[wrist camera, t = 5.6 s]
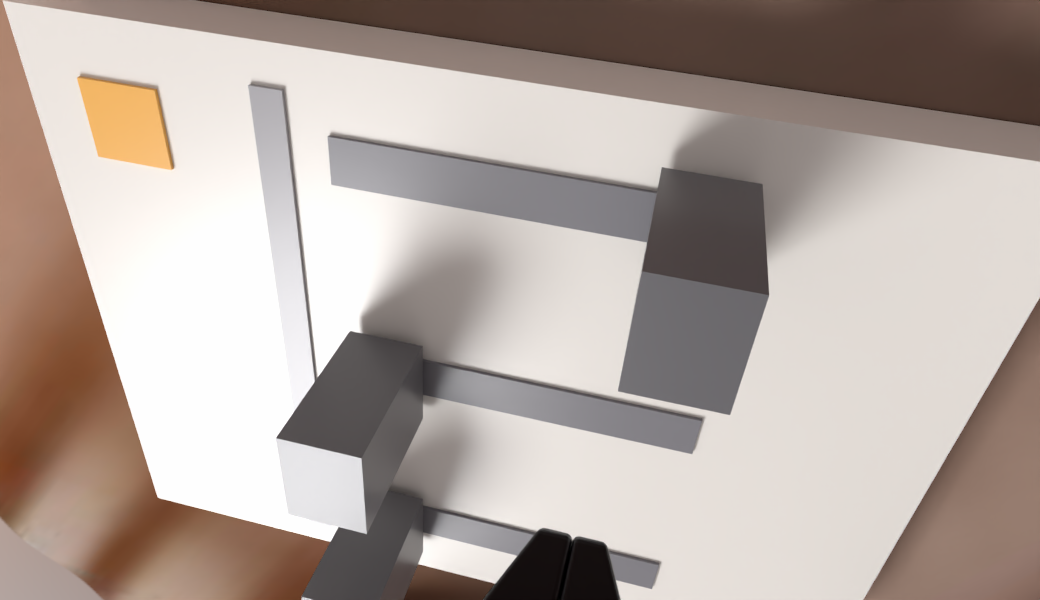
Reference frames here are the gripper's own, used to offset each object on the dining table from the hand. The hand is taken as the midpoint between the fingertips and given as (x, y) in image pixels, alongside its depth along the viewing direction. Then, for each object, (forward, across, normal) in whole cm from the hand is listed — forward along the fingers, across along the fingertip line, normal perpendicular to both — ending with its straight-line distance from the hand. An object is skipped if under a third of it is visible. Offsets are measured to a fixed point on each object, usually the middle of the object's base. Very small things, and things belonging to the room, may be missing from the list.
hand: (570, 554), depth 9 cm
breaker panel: (+11, +3, +6) cm, 13 cm away
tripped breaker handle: (+9, -1, 0) cm, 9 cm away
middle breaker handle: (+9, +6, +6) cm, 12 cm away
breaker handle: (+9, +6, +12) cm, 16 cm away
